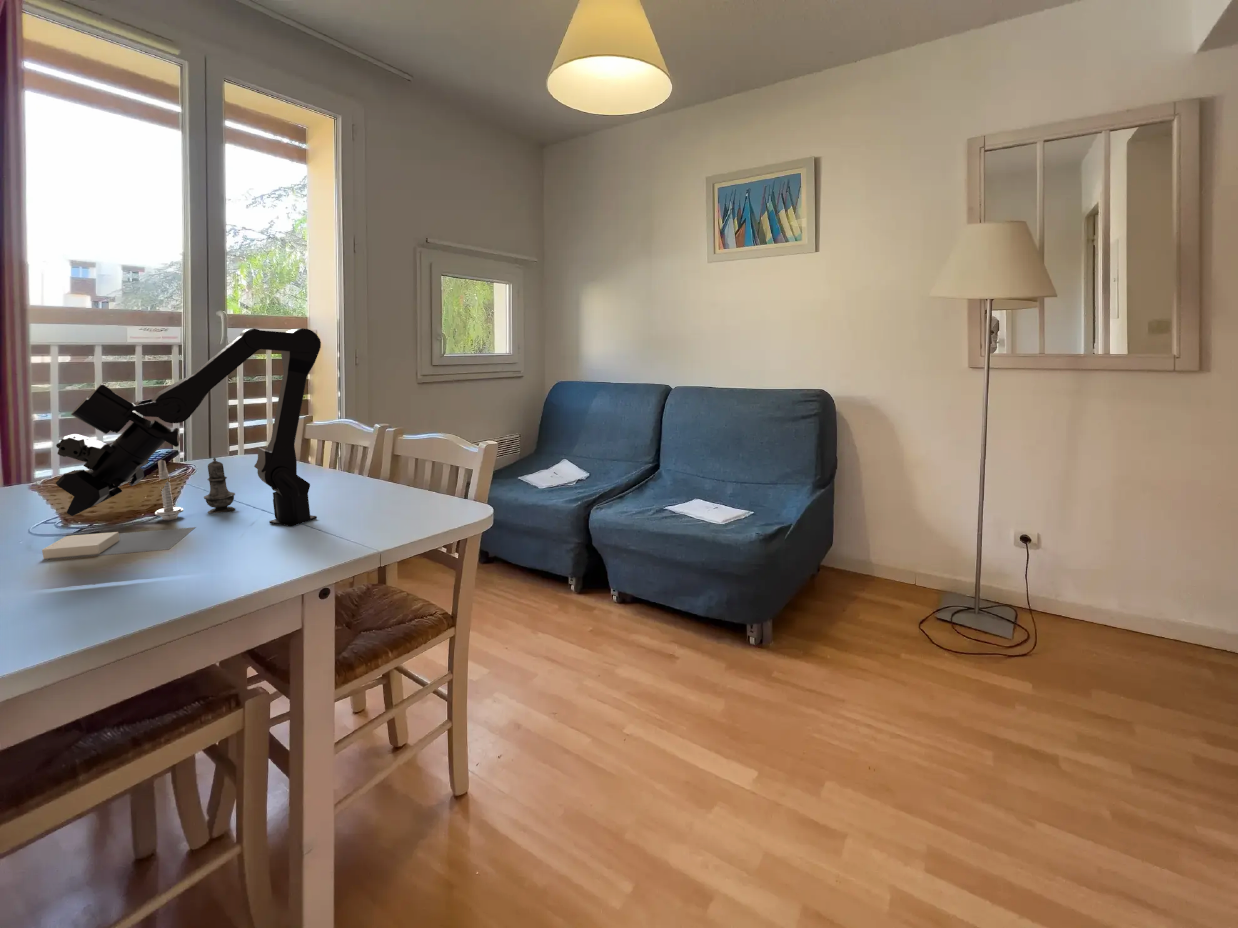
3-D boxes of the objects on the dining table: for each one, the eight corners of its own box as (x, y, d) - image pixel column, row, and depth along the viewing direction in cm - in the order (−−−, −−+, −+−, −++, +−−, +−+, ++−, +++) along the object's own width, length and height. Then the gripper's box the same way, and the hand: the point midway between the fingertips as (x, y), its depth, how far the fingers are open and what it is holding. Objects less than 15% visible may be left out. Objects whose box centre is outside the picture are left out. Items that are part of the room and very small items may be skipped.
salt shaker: (226, 514, 137) (219, 460, 135) (199, 515, 138) (191, 460, 135) (242, 507, 143) (236, 454, 141) (217, 507, 143) (209, 455, 141)
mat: (196, 529, 127) (195, 527, 127) (169, 551, 114) (169, 549, 114) (88, 538, 122) (87, 535, 122) (47, 562, 109) (46, 560, 109)
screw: (153, 525, 130) (159, 519, 135) (181, 522, 132) (186, 516, 137) (143, 462, 128) (150, 458, 132) (172, 460, 130) (177, 456, 134)
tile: (118, 531, 119) (66, 536, 117) (97, 544, 111) (41, 549, 109) (119, 540, 119) (68, 544, 117) (99, 553, 112) (43, 558, 109)
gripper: (114, 412, 120) (54, 474, 119) (60, 425, 102) (-11, 497, 101) (169, 451, 123) (111, 511, 122) (126, 470, 106) (58, 540, 105)
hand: (70, 514), depth 113 cm, fingers closed
